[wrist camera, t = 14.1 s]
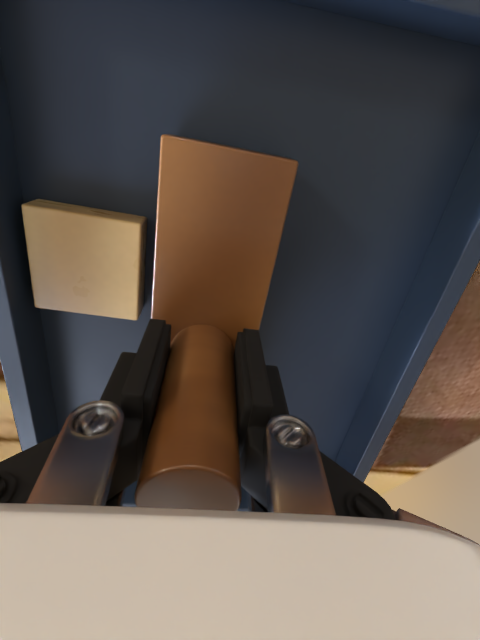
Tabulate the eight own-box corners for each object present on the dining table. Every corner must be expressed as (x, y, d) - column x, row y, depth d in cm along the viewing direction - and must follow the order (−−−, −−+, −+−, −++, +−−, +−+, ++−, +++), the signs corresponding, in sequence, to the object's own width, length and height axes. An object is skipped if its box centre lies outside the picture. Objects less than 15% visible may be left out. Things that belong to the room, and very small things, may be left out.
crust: (148, 216, 13) (141, 223, 12) (143, 308, 15) (137, 321, 13) (37, 197, 12) (19, 203, 11) (47, 295, 14) (33, 308, 13)
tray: (527, 35, 11) (613, 7, 9) (330, 479, 22) (343, 521, 20) (-36, -100, 9) (-131, -187, 7) (57, 464, 20) (35, 509, 18)
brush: (286, 156, 12) (395, 191, 4) (225, 433, 18) (227, 633, 11) (171, 134, 11) (76, 129, 4) (151, 427, 18) (102, 632, 10)
